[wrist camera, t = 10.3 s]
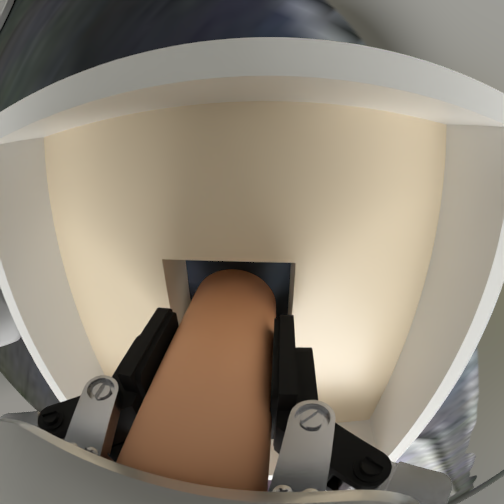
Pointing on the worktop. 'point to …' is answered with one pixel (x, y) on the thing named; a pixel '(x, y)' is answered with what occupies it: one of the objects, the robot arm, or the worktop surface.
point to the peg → (212, 391)
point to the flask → (7, 324)
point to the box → (263, 212)
